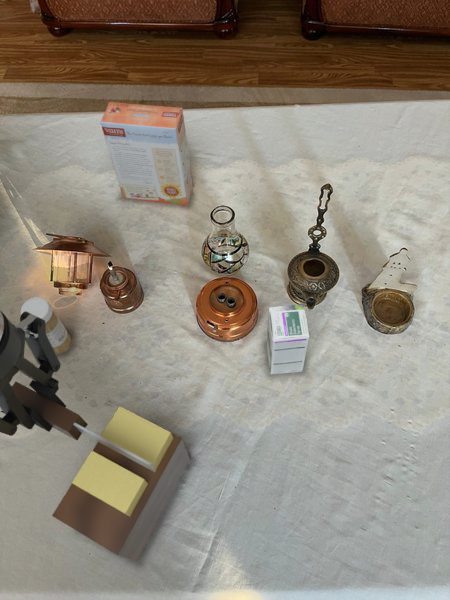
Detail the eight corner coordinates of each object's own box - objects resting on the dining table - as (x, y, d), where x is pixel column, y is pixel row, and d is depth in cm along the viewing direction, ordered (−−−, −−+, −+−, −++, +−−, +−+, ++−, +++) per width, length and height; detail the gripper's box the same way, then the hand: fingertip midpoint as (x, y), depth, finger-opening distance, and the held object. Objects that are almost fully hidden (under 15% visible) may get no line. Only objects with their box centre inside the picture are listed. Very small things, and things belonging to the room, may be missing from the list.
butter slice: (78, 487, 68) (71, 482, 66) (97, 455, 70) (91, 450, 67) (129, 516, 66) (125, 513, 64) (148, 483, 68) (144, 479, 65)
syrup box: (303, 373, 90) (312, 336, 77) (268, 376, 90) (272, 339, 77) (298, 342, 93) (306, 302, 80) (264, 345, 92) (267, 306, 80)
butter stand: (81, 528, 79) (51, 515, 67) (137, 433, 86) (119, 406, 73) (138, 562, 76) (117, 555, 64) (191, 461, 83) (181, 438, 71)
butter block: (104, 444, 71) (98, 439, 68) (123, 412, 73) (119, 405, 70) (154, 472, 69) (151, 467, 66) (173, 438, 71) (170, 432, 68)
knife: (15, 407, 69) (3, 397, 66) (26, 391, 70) (15, 380, 67) (151, 480, 64) (145, 474, 61) (160, 462, 65) (156, 455, 62)
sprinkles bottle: (60, 328, 96) (34, 290, 84) (78, 341, 94) (54, 304, 82) (42, 347, 94) (13, 311, 82) (60, 360, 92) (33, 326, 81)
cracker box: (194, 186, 111) (183, 106, 93) (188, 208, 108) (176, 129, 90) (130, 179, 113) (108, 98, 95) (123, 200, 110) (98, 122, 92)
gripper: (-61, 428, 44) (37, 483, 64) (49, 285, 50) (106, 376, 71) (-126, 391, 46) (-11, 455, 66) (-12, 258, 52) (60, 353, 73)
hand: (49, 414), depth 68 cm, fingers closed on knife, 2 cm apart
